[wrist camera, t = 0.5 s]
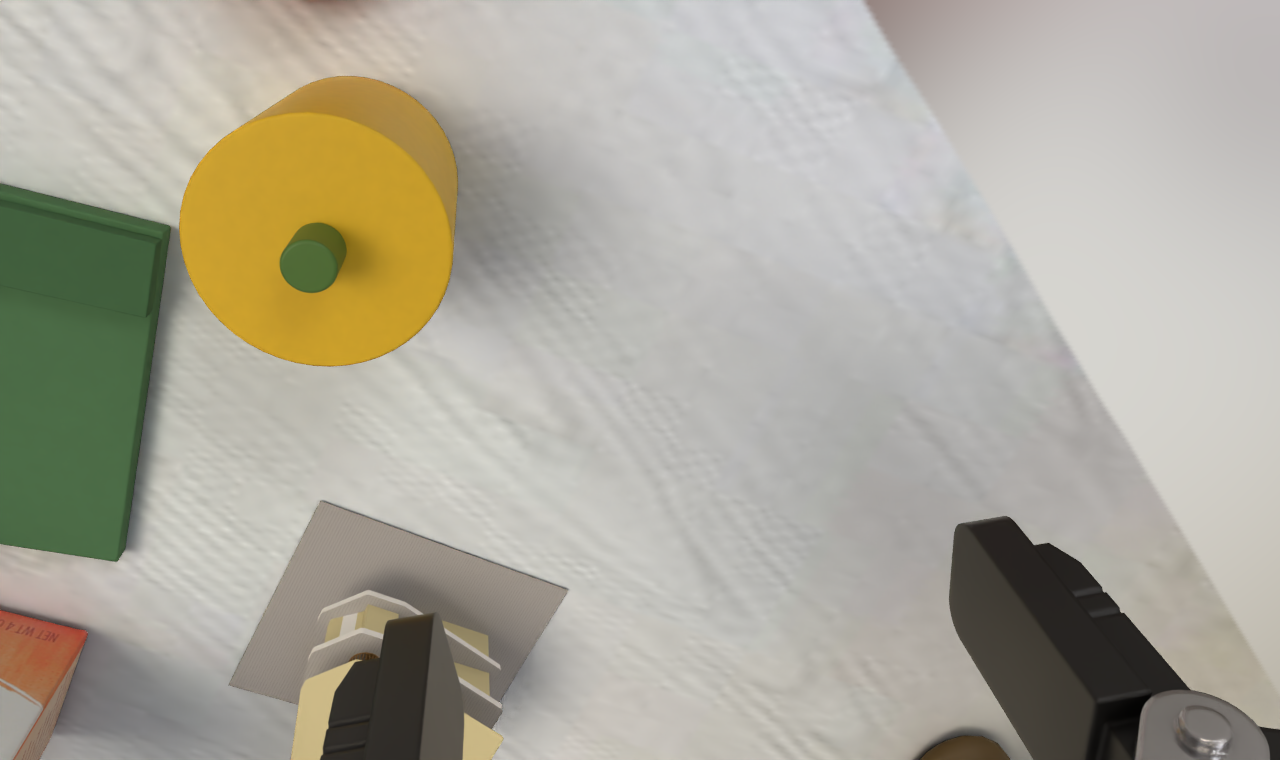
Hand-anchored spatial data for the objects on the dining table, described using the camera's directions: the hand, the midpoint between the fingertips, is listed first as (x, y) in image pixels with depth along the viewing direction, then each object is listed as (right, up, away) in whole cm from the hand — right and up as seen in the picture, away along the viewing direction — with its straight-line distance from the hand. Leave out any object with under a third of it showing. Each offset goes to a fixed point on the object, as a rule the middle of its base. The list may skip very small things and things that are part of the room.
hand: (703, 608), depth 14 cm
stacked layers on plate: (-10, -6, +21) cm, 25 cm away
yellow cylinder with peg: (-10, +10, +14) cm, 20 cm away
